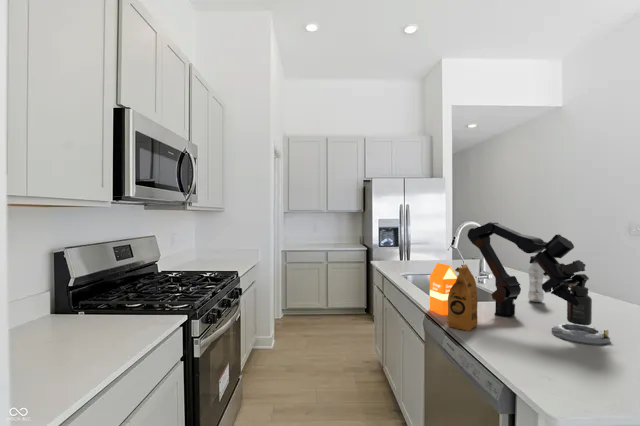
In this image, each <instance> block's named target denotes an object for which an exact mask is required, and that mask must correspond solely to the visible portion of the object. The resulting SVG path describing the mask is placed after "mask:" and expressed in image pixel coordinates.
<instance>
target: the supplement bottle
mask: <svg viewBox="0 0 640 426" xmlns="http://www.w3.org/2000/svg"><path fill="white" fill-rule="evenodd" d="M570 289H571V290H570ZM570 289H569V290H570V292H571V293H572V295H573V296H574V297H575V299H576V300H577V302H578V304H579V305H577V306H575V305H573V304H571V303H569V302H568V301H566V321H567V322H569V323H570V324H578V325H586V326H590V325H592V316H593V314H592V313H593V311H592V310H593V303H592V302H593V299H592V298H591V296H590V295H589V288H588V287H586V286H585V287H581V286H571V288H570ZM587 294H588V295H587Z"/></svg>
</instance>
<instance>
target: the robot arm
mask: <svg viewBox="0 0 640 426" xmlns="http://www.w3.org/2000/svg"><path fill="white" fill-rule="evenodd" d="M493 235H496V236H499V237H501V238H502V239H504V240H507V241H509V242H511V243H513V244H515V245H516V246H517V248H518V249H519V250H521V251H522V252H524V253H526V254H535V255H532V256H530V260H529V264H530V265H532V263H538V265H539V266H540V267H541V268H542V269H543V271H544V273H543V274H544V275H543V276H544V277H548V279H547V280H546V281H545V282H542V283H543V284H542V289H543V293H545V294H546V293H547V294H548V293H550V294H551V295H554V296H556V297H558V298H560V299H561V300H564V301H566V302H567V301H568V302H569V303H571V304H573V305H575V306H577V305H579V304H578V302H577V300H576V299H575V297H574V296H573V295H572V293H571V292H570V290H571V286H581V287H586V283H587V281H589V280H590V277H588V276H587V274H585V273H580V272H585V271H586V269H585V268H586V264H585V263H584V261H581V260H580V259H577V260H573V261H572V262H571V263H567V264H565V263H563V262H561V263H560V262H559V261H558V260H557V259H562V258H563V257H564V256H566V255H567V254H568V253H570V252H571V251H573V250H574V249H575V246H574V243H573V242H572V241H571V240H568V238H567V237H564V236H562V234H561V233H560V234H555V235H554V236H553V237H552V238H551V239H550V240H549V241H548V242H546V241H544V240H543V239H542V238H540V237H536V236H531V235H527V234H522V233H520V232H518V231H515V230H514V229H511V228H509V227H506V226H504V225H502V224H500V223H498V222H497V221H495V222H493V221H491V222H490V221H489V222H487V223H486V224H482V225H481V226H476V227H473V228H472V227H471V228H470V229H469V230H468V232H467V239H468V240H469V242H470V243H471V244H472V245H474V246H475V247H476V248H477V249H478V250H479V251H480V253H481V255H482V257H483V258H484V260H485V262H486V264H487V266H488V268H489V269H490V271H491V273H492V275H493V277H494V279H495V280H494V281H495V285H494V286H495V288H496V289H495V290H494V291H493V292H492V293H491V297H492V300H493V301H495V308H494V309H495V312H494V313H493V314H494V315H495V316H501V317H506V318H507V317H508V318H513V317H514V316H515V314H516V303H515V302H514V301H515V300H517V299H518V296H519V295H520V294H521V290H522V289H521V283H519V281H518V280H517V277H516V276H515V275H510V274H508V272H507V270H506V269H505V267H504V266H503V264H502V263H501V260H500V259H499V256H498V255H497V253H496V252H495V250H494V248H493V246H492V245H491V236H493ZM587 295H588V296H589V293H588V294H587Z"/></svg>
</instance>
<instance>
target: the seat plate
mask: <svg viewBox="0 0 640 426" xmlns="http://www.w3.org/2000/svg"><path fill="white" fill-rule="evenodd" d="M551 334H552V335H553V336H555V337H557V338H558V339H562V340H564V341H568V342H571V343H576V344H582V345H589V346H605V345H609V344H610V343H611V337H609V329H603V331H602V330H600V329H598V328H596V327H593V326H590V325H578V324H573V323H570V322H569V323H565V322H563V323H559V324H558V325H556V326H553V327H551Z"/></svg>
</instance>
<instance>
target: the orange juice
mask: <svg viewBox="0 0 640 426" xmlns="http://www.w3.org/2000/svg"><path fill="white" fill-rule="evenodd" d="M454 271H455V270H453V267H451V265H450V264H449V265H448V264H445V263H440V262H437V263H436V265H435V266H434V268H433V269H432V271H431V273H430V275H429V311H431V312H434V313H436V314H437V315H438V314H439V315H441V316H448V295H449V291H450V289H451V287H452V286H453V284H454V283H455V282H456V279H457V277H458V275H456V273H455V272H454Z"/></svg>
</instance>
